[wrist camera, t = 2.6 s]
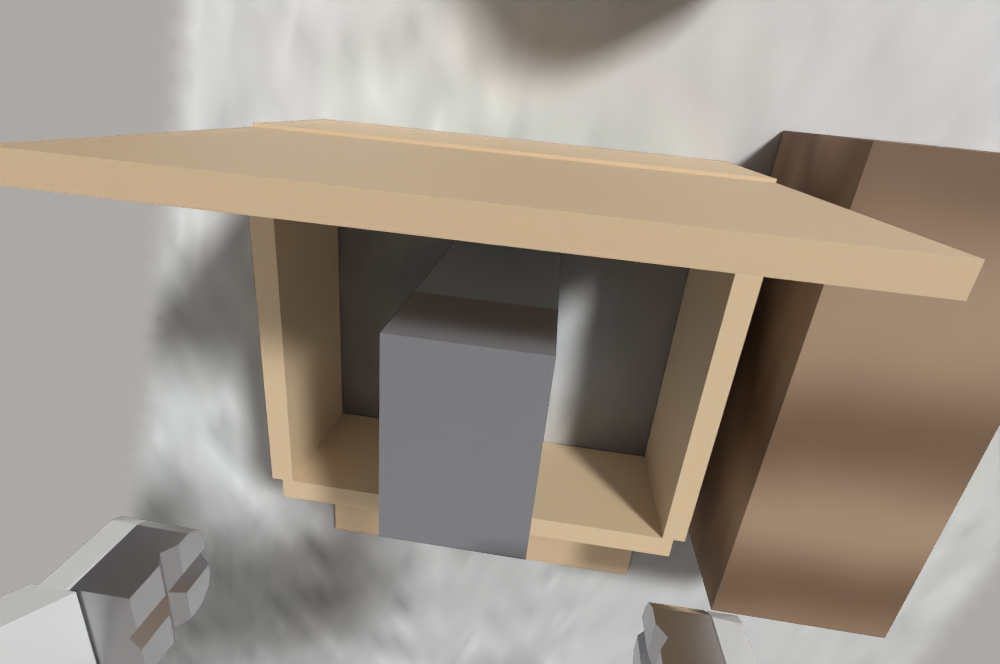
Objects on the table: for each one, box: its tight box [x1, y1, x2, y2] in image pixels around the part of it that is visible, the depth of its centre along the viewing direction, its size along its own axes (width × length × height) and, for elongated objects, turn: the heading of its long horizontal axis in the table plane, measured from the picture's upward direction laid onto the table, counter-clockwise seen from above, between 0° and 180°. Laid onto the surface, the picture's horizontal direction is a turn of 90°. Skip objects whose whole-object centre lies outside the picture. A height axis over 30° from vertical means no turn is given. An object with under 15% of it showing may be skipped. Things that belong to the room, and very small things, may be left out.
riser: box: [688, 131, 1000, 638], centre depth 19 cm, size 16×6×6 cm, turn 175°
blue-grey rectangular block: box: [379, 240, 561, 560], centre depth 18 cm, size 6×4×10 cm, turn 175°
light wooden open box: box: [0, 119, 985, 575], centre depth 18 cm, size 20×16×13 cm
